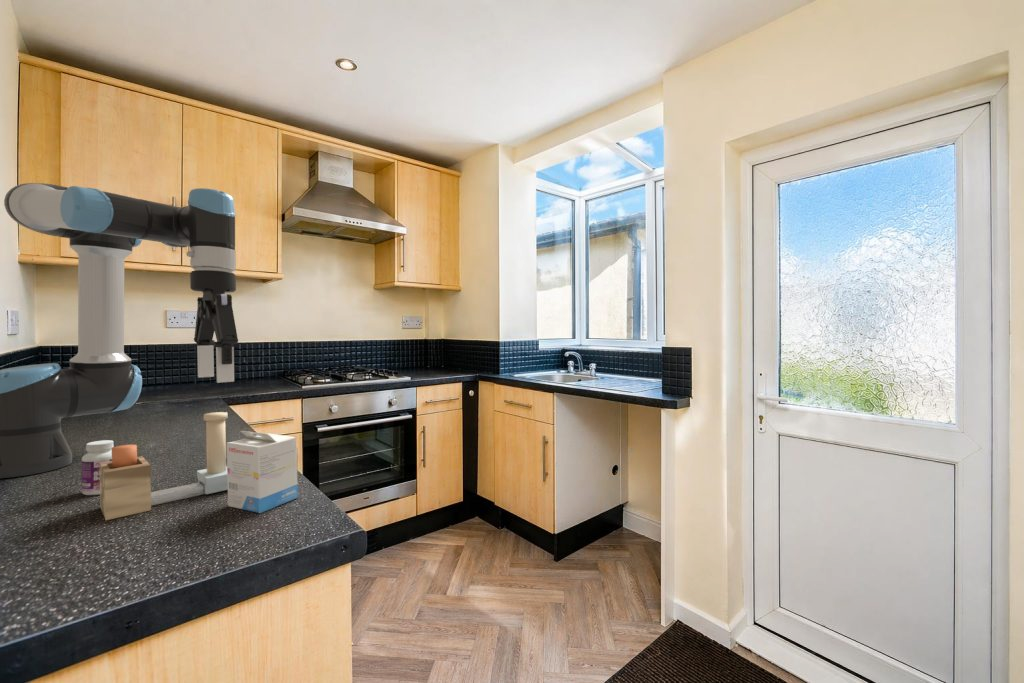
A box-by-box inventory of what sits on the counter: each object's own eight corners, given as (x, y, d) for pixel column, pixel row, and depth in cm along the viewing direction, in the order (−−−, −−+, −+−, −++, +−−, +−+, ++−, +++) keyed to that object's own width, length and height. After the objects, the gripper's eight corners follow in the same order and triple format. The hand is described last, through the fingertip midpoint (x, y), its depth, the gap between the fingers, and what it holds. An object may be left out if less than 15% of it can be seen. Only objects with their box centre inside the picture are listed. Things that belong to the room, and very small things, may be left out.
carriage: (197, 486, 92) (196, 413, 92) (225, 480, 96) (224, 410, 96) (206, 495, 88) (205, 418, 87) (236, 488, 91) (235, 414, 91)
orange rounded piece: (110, 466, 81) (110, 447, 81) (135, 462, 84) (135, 443, 84) (113, 470, 79) (112, 450, 79) (138, 466, 82) (138, 446, 81)
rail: (144, 499, 86) (143, 483, 86) (235, 480, 97) (235, 466, 97) (150, 508, 82) (149, 491, 82) (245, 487, 93) (244, 472, 93)
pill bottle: (96, 497, 87) (95, 446, 87) (74, 495, 88) (73, 444, 88) (125, 487, 93) (124, 439, 92) (104, 485, 94) (103, 438, 93)
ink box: (299, 498, 87) (298, 427, 87) (258, 514, 80) (257, 437, 79) (268, 491, 91) (267, 423, 90) (226, 506, 83) (225, 432, 83)
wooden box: (100, 507, 82) (99, 462, 82) (143, 498, 87) (142, 456, 86) (105, 520, 77) (104, 472, 77) (151, 510, 81) (150, 464, 81)
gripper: (175, 275, 97) (177, 376, 97) (208, 262, 79) (210, 386, 80) (217, 277, 102) (218, 374, 102) (256, 267, 85) (257, 382, 85)
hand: (215, 379), depth 91 cm, fingers open, 13 cm apart
